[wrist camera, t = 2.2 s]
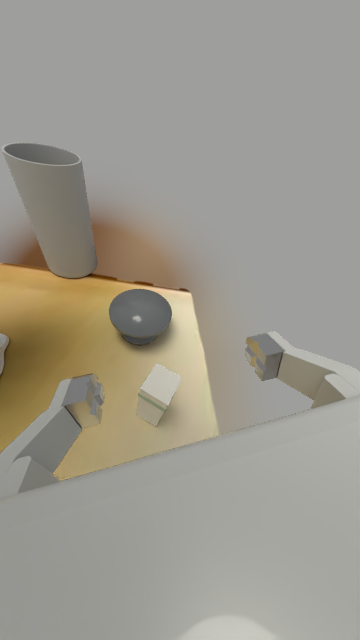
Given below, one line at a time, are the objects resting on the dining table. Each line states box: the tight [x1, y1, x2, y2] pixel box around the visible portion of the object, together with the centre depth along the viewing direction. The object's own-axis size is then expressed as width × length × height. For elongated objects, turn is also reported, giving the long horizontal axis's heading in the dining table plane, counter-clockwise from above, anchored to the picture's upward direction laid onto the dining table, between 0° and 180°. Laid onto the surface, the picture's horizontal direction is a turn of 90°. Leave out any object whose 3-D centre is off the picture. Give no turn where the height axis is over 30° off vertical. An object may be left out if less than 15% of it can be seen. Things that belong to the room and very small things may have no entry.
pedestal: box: [109, 289, 172, 345], centre depth 42 cm, size 13×13×7 cm
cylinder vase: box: [2, 143, 97, 278], centre depth 44 cm, size 12×12×25 cm
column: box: [136, 363, 182, 427], centre depth 29 cm, size 4×4×14 cm
